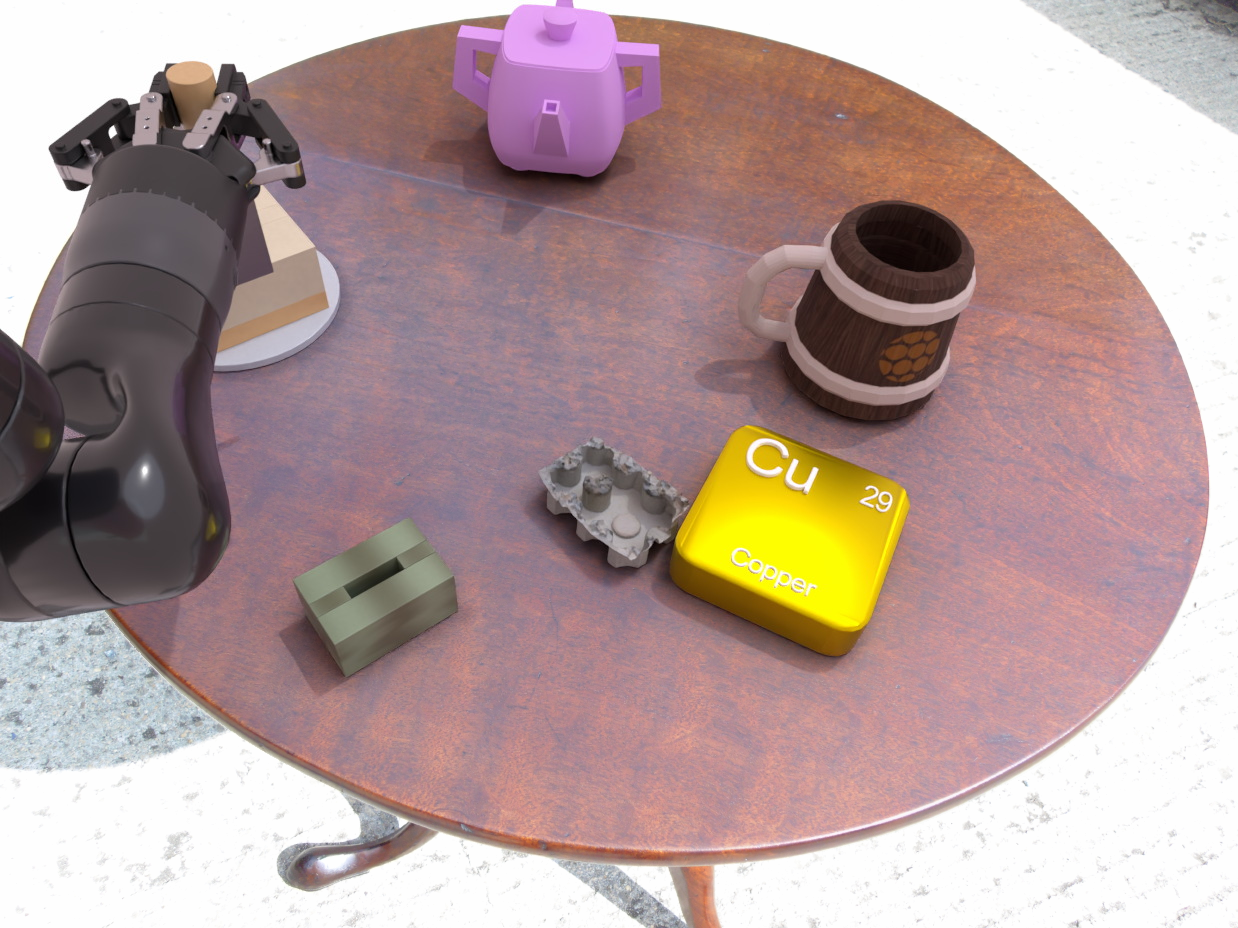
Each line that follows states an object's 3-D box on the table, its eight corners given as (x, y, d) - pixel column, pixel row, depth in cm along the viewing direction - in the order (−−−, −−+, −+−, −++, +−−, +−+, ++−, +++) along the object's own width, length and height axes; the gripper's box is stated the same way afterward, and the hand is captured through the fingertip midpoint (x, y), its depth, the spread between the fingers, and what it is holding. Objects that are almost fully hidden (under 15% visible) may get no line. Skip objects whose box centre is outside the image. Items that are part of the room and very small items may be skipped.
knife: (234, 297, 65) (167, 91, 52) (219, 276, 66) (150, 70, 54) (283, 279, 66) (228, 74, 54) (267, 259, 67) (210, 54, 55)
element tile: (659, 582, 70) (666, 548, 66) (731, 448, 79) (741, 411, 75) (846, 668, 67) (865, 637, 63) (899, 518, 75) (919, 483, 72)
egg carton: (689, 533, 73) (697, 503, 70) (620, 585, 69) (625, 557, 66) (600, 450, 77) (604, 419, 74) (530, 496, 74) (531, 465, 70)
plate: (103, 363, 79) (100, 356, 78) (173, 231, 90) (171, 224, 89) (315, 379, 80) (313, 373, 79) (358, 246, 91) (357, 240, 90)
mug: (922, 318, 91) (982, 189, 79) (949, 435, 81) (1021, 309, 70) (723, 300, 90) (752, 167, 78) (727, 415, 81) (761, 285, 69)
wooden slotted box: (200, 359, 79) (176, 298, 73) (147, 281, 84) (120, 218, 79) (329, 307, 84) (315, 246, 78) (270, 236, 89) (254, 174, 84)
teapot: (562, 84, 112) (565, -46, 100) (671, 152, 105) (690, 21, 93) (437, 141, 103) (425, 6, 91) (548, 220, 96) (551, 85, 84)
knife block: (346, 678, 63) (334, 644, 59) (305, 615, 66) (291, 579, 62) (458, 610, 67) (454, 575, 63) (416, 553, 70) (409, 516, 66)
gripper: (285, 193, 45) (310, 19, 55) (-26, 197, 43) (60, 15, 53) (313, 308, 51) (331, 131, 61) (40, 317, 49) (107, 131, 59)
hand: (204, 78), depth 57 cm, fingers closed on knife, 2 cm apart
